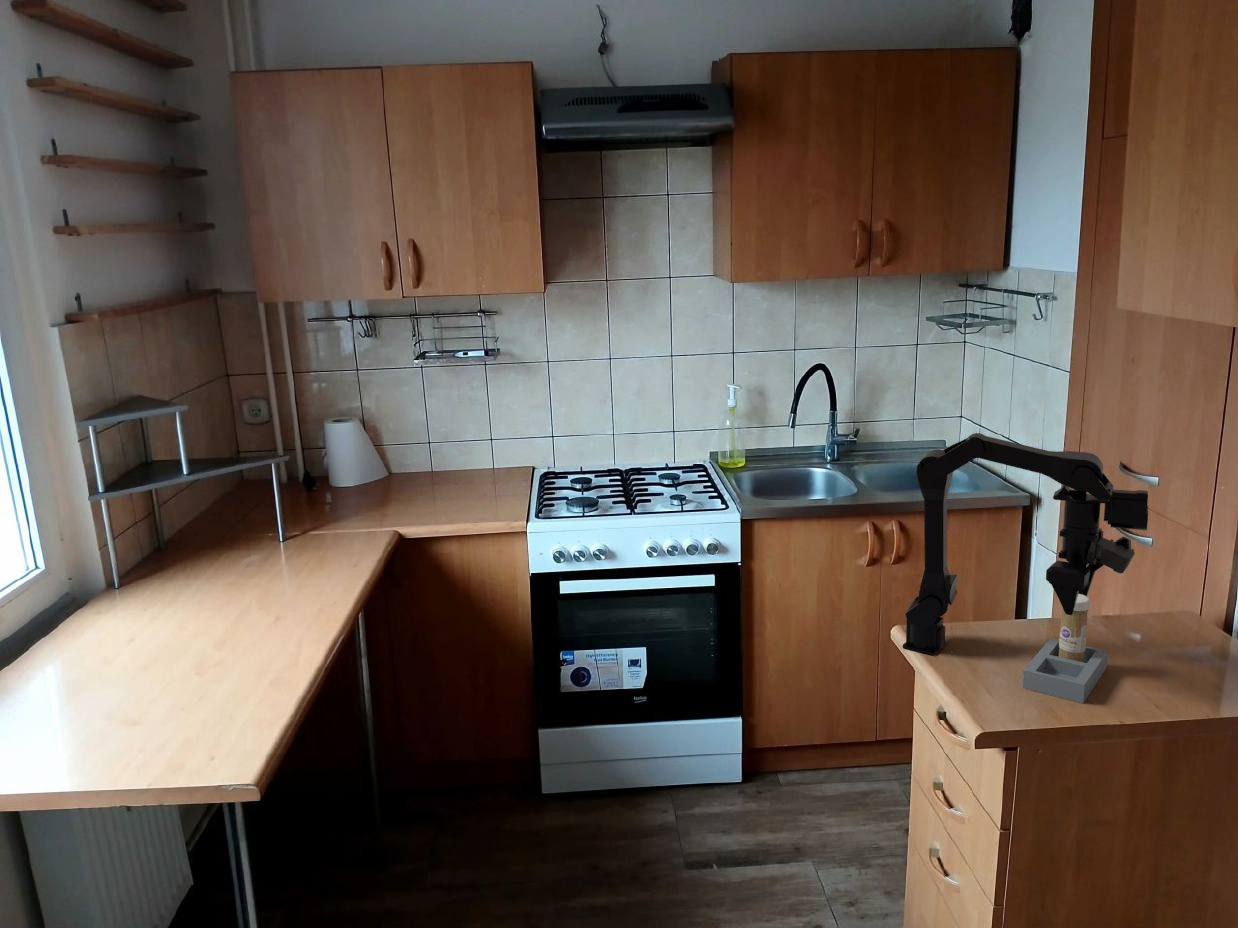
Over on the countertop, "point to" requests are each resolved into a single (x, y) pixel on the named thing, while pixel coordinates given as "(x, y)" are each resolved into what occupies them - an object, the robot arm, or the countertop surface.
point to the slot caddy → (1064, 672)
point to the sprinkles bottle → (1074, 631)
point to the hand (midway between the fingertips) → (1076, 606)
